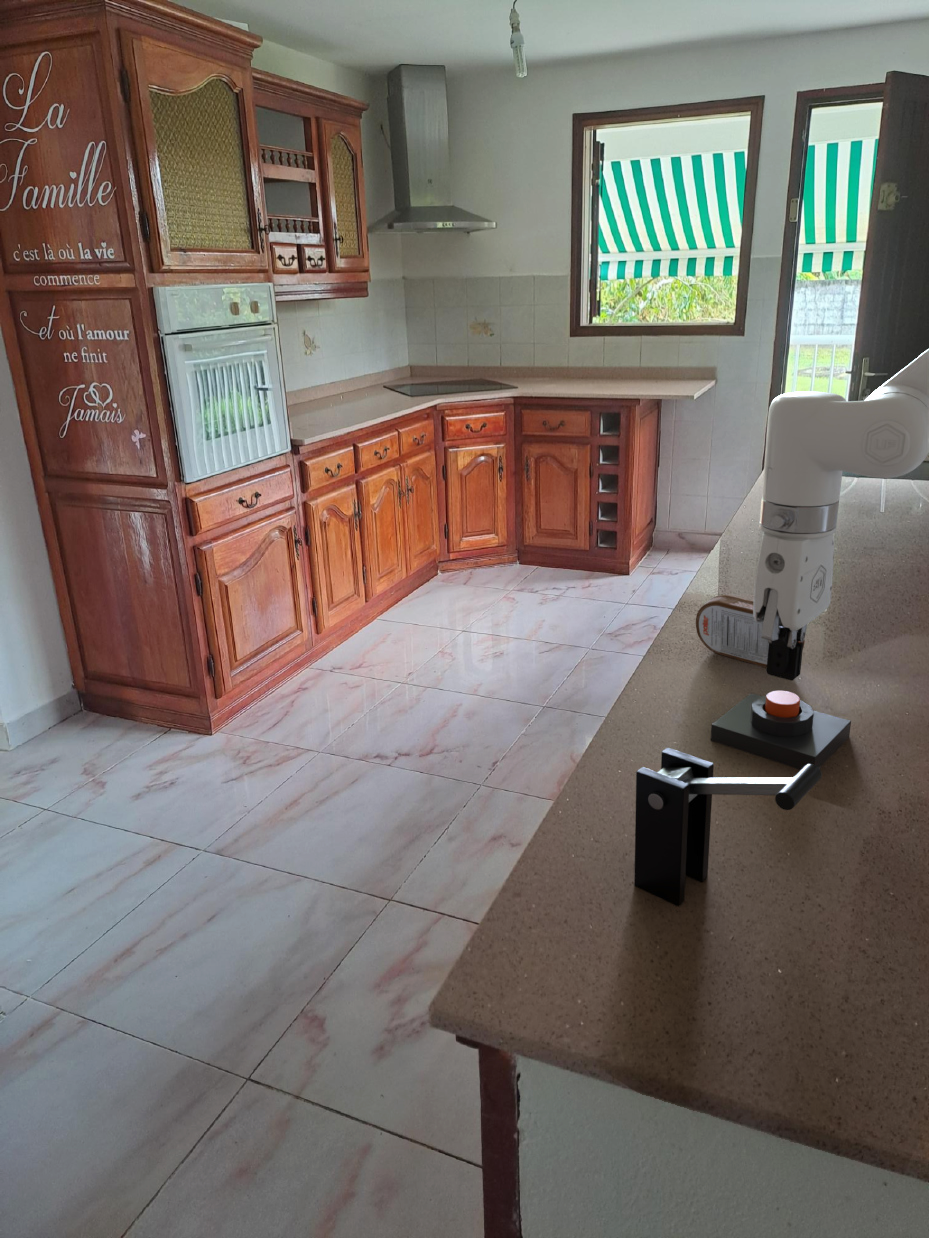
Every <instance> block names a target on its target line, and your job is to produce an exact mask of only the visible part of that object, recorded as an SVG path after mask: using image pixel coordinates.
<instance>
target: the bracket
mask: <svg viewBox="0 0 929 1238" xmlns="http://www.w3.org/2000/svg"><path fill="white" fill-rule="evenodd" d="M660 760H661V763H660V770H661V769H662V768H674V767H691V769H692V772H693V775H694V778H714V767H715V763H714V762H711V761H708V760H705V759H702V758H700V757H696V756H693V755H691V754H688V753H685V752H682V751H679V750H676V749H674V748H670V747H666V748H665V749H663V750H662V751H661V757H660ZM657 772H658V771H654V770H652V769H650V768H646V767H644V766H642V767H640V768H639V769H638V770H637V771H636V772H635V773H636V774H635V818H634V819H635V820H634V823H635V827H634V829H635V831H634V833H635V834H634V875H633V876H634V879H633V880H634V883H633V885H634V887H636V888H638V889H640V890H642V891H644V892H646V893H648V894H651V895H653V896H655V897H657V898H659V899H661V900H663V901H666V902H668V903H670V904H672V905H674V906H675V907H680V906H681V905H682V904H683V903H684V902H685V894H686V893H685V892H686V877H688V878H690V879H693V880H695V881H696V882H700V883H701V884H703V882H704V881H706V880H707V879H708V877H709V860H710V859H709V856H710V839H711V823H712V822H711V820H712V803H713V802H712V801H713V794H698V795H697V796H696V797H695V798H693V799H692V800H691V801H690V802H689V784H687V783H685V782H682V781H679V780H676V779H674V778H671V777H668V776H666V775H663V774H660V773H657Z"/></svg>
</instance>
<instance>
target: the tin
mask: <svg viewBox="0 0 929 1238" xmlns="http://www.w3.org/2000/svg"><path fill="white" fill-rule="evenodd" d="M753 601H754V600H751V599H750V600H749V599H746V598H741V597H737V596H733V595H728V594H720V595H716V596H714V597H711V598H709V600H708V601H706V602H705V603H704V604H702V606H700V608H699V609H698V611H697V613H696V616H695V630H696V634H697V636H698V638H699V640H700V641H701V643H702V644H703V646H705V648H707V649H708V650H710V651H711V652H713V653H714V654H717V655H719V656H723V657H725V658H730V659H733V660H737V661H741V662H745V663H747V664H748V663H749V664H751V665H755V666H759V667H762V668H765V669H767V658H768V647H769V643H768V640H767V639H763V638H761V632H762V627H763V622H761V623H758V622H756V620H755V619H754V616H753ZM805 642H806V641H805V639H804V641H803V642H800V641H799V643H803V649H804V648H805Z"/></svg>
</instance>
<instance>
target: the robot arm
mask: <svg viewBox="0 0 929 1238" xmlns="http://www.w3.org/2000/svg"><path fill="white" fill-rule="evenodd" d="M765 439H766V440H765V449H764V451H765V453H764V464H763V475H762V476H763V477H762V487H761V498H760V501H761V502H760V513H759V526H758V527H759V530H760V531H761V532H763V534H762V537H761V544H760V548H759V554H758V559H757V566H756V574H755V581H754V591H753V600H752V601H753V616H754V619H755V620H756V622H758V623H761V622H763V627H762V632H761V638H763V639H767V640H768V643H769V647H768V658H767V668H765V669H766V674H767V675H769V676H772V677H776V678H780V679H783V680H786V681H790V682H792V681H795V680H796V678H798V677H799V676H800V675H801V669H802V660H803V651H804V648H803V643H799V641H800V642H803V641H804V639H805V638H806V635H807V629H808V624H809V623H811V622H812V621H813V620H816V618H817V617H819V616H820V615H822V614H823V613H824V612H825V611H826V610H827V609H828V608H829V607H830V606H831V601H832V591H833V578H834V577H833V576H834V559H835V534H836V531H837V523H838V522H837V521H838V516H839V515H838V514H839V505H840V497H841V488H842V481H843V472H845V473H849V474H854V475H859V476H864V477H869V478H875V479H876V478H877V479H894V478H897V477H902V476H905V475H907V474H910V473H911V472H912V471H914V470H915V469H917V468H918V467H919V466H921V464H922V463H923V462H924V461H925V460H926V458H927V457H928V455H929V348H928V349H926V350H925V351H924V352H922V353H921V354H920V355H918V357H917V358H915V359H914V360H912V361H911V362H910V363H908V365H906V366H905V367H904V368H902V369H901V370H900V371H898V372H897V373H896V374H894V375H893V376H892V377H891V378H890V379H888V380H887V381H885V382H884V383H882V385H881V386H879V387H878V388H877V389H875V390H874V391H873V392H872V393H871V394H870V395H868V396H867V397H866V398H865V399H864V400H851V401H847V399H846V398H845V397H843V396H842V395H840V394H837V393H833V392H826V391H794V392H793V391H792V392H787V393H783V394H780V395H778V396H776V397H775V398H774V399H773V400H772V401H771V403H770V406H769V408H768V414H767V425H766V438H765Z"/></svg>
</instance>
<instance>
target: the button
mask: <svg viewBox="0 0 929 1238" xmlns="http://www.w3.org/2000/svg"><path fill="white" fill-rule="evenodd" d="M765 697H766V706H765V710H766V712H767V713H768V714H770V715H774V716H777V717H786V718H790V717H794V716H797V715H798V714H799V707H800V700H801V698H800V697H799V695H797V694H796V693H794V692H792V691H788V690H772V691H770V692H768V693H767V694H766V696H765Z"/></svg>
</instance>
